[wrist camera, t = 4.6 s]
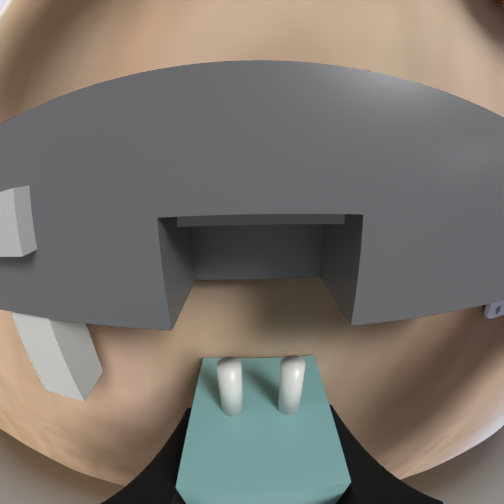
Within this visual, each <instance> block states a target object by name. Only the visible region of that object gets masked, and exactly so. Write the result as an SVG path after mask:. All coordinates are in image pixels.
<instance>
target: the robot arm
mask: <svg viewBox="0 0 504 504" xmlns="http://www.w3.org/2000/svg"><path fill="white" fill-rule="evenodd" d="M484 315H485V317H487V318H488V319H492V318H496V317H499V316H502V315H504V300H503V301H499V302H495V303H490V304H486V307H485V310H484ZM329 406H330V409H331V412H332V416H333V419H334V422H335V426H336V429H337V433H338V436H339V440H340V443H341V447H342V450H343V454H344V457H345V461H346V465H347V468H348V472H349V476H350V479H351V483H350V484H349V486H348V487H347V489H346V490H345V492H344V493H343V495H342V496H341V497H340V499H339V500H338V501H337V503H336V504H443V502H442V501H439V500H437V499H434V498H432V497H429V496H427V495H425V494H423V493H421V492H419V491H417V490H416V489H414V488H412V487H410V486H409V485H407V484H406V483H404V482H402V481H401V480H399V479H398V478H396V477H395V476H394V475H392V474H391V473H390V472H389V471H387V470H386V469H385V468H384V467H383V466H381V465H380V464H379V463H378V462H377V461H376V460H375V459H374V458H373V457H372V456H371V455H370V454H369V453H368V452H367V451H366V450H365V449H364V448H363V447H362V446H361V445H360V443H359V442H358V441H357V440H356V439H355V437H354V436H353V435H352V434H351V432H350V431H349V430H348V429H347V427H346V426H345V424H344V423H343V422H342V420H341V419H340V417H339V416H338V414H337V413H336V411H335V410H334V408H333V407H332V406H331V405H329ZM191 410H192V408H188V409H186V411H185V413H184V415H183V417H182V419H181V421H180V422H179V424H178V426H177V427H176V429H175V431H174V432H173V434H172V435H171V437H170V438H169V439H168V441H167V442H166V444H165V445H164V447H163V448H162V449H161V450H160V452H159V453H158V454H157V455H156V457H155V458H154V459H153V460H152V461H151V463H150V464H149V465H148V466H147V467H146V468H145V469H144V470H143V471H142V472H141V473H140V474H139V475H138V476H137V477H136V478H135V479H134V480H133V481H131V482H130V483H129V484H128V485H127V486H126V487H124V488H123V489H122V490H121V491H119V492H118V493H116V494H115V495H114V496H112V497H110V498H109V499H107V500H106V501H104V502H103V503H101V504H186V503H185V501H184V500H183V498H182V497H181V495H180V494H179V492H178V491H177V489H176V483H177V478H178V472H179V467H180V462H181V457H182V453H183V448H184V443H185V438H186V433H187V429H188V424H189V419H190V415H191Z"/></svg>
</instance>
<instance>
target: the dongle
mask: <svg viewBox="0 0 504 504" xmlns="http://www.w3.org/2000/svg"><path fill="white" fill-rule="evenodd" d="M11 313H12V316H13V319H14V321H15V324H16V327H17V329H18V332H19V335H20V337H21V339H22V342H23V344H24V347H25V349H26V351H27V353H28V356H29V358H30V360H31V362H32V364H33V366H34V368H35V370H36V372H37V374H38V376H39V378H40V380H41V382H42V384H43V386H44V388H45V389H46V390H48V391H51V392H54V393H57V394H60V395H63V396H67V397H70V398H73V399H77V400H80V401H84V402H85V400H86V398H87V397H88V395H89V394H90V392H91V390H92V389H93V387H94V385H95V384H96V382H97V381H98V379H99V377H100V376H101V374H102V373H103V369H102V367H101V364H100V362H99V359H98V356H97V353H96V351H95V348H94V345H93V342H92V339H91V336H90V333H89V330H88V327H87V323H79V322H71V321H64V320H57V319H51V318H44V317H38V316H32V315H27V314H22V313H16V312H11Z"/></svg>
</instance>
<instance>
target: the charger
mask: <svg viewBox="0 0 504 504" xmlns="http://www.w3.org/2000/svg"><path fill="white" fill-rule="evenodd" d="M350 483H351V479H350V476H349V472H348V468H347V465H346V461H345V457H344V454H343V450H342V447H341V443H340V440H339V436H338V433H337V429H336V426H335V422H334V419H333V416H332V412H331V409H330V406H329V402H328V399H327V396H326V392H325V389H324V386H323V383H322V379H321V376H320V373H319V370H318V367H317V363H316V360H315V357H314V355H309V356H287V357H274V358H233V357H226V358H203V361H202V365H201V370H200V374H199V378H198V383H197V387H196V392H195V396H194V401H193V405H192V410H191V415H190V419H189V424H188V429H187V433H186V438H185V443H184V448H183V453H182V457H181V462H180V467H179V472H178V478H177V483H176V489H177V491H178V492H179V494H180V495H181V497H182V498H183V500H184V501H185V503H186V504H336V503H337V501H338V500H339V499H340V497H341V496H342V495H343V493H344V492H345V490H346V489H347V487H348V486H349V484H350Z"/></svg>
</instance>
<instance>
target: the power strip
mask: <svg viewBox="0 0 504 504" xmlns="http://www.w3.org/2000/svg"><path fill="white" fill-rule="evenodd" d="M311 277H321V278H322V280H323V281H324V283H325V284H326V286H327V288H328V289H329V291H330V292H331V294H332V296H333V297H334V299H335V300H336V302H337V304H338V305H339V307H340V309H341V310H342V312H343V314H344V315H345V317H346V319H347V320H348V322H349V324H350V325H351V326H355V325H364V324H373V323H382V322H390V321H397V320H405V319H412V318H418V317H424V316H430V315H436V314H442V313H448V312H453V311H458V310H463V309H468V308H473V307H477V306H482V305H486V304H490V303H495V302H499V301H503V300H504V118H503V117H501V116H500V115H498V114H496V113H494V112H492V111H489V110H487V109H485V108H483V107H481V106H479V105H476V104H474V103H472V102H470V101H467V100H465V99H462V98H460V97H457V96H455V95H452V94H449V93H447V92H444V91H441V90H438V89H435V88H432V87H429V86H426V85H423V84H419V83H416V82H413V81H409V80H405V79H402V78H398V77H394V76H390V75H385V74H381V73H376V72H371V71H366V70H361V69H355V68H349V67H343V66H335V65H327V64H318V63H308V62H294V61H264V60H255V61H225V62H211V63H200V64H191V65H183V66H176V67H169V68H163V69H158V70H152V71H147V72H142V73H137V74H133V75H129V76H124V77H120V78H116V79H113V80H109V81H105V82H102V83H99V84H95V85H92V86H89V87H86V88H83V89H80V90H77V91H74V92H71V93H68V94H66V95H63V96H60V97H58V98H55V99H53V100H50V101H48V102H45V103H43V104H41V105H38V106H36V107H34V108H32V109H30V110H28V111H25V112H23V113H21V114H19V115H17V116H15V117H13V118H11V119H10V120H8V121H6V122H4V123H2V124H0V309H2V310H6V311H11V312H16V313H22V314H27V315H32V316H38V317H44V318H51V319H57V320H64V321H71V322H79V323H87V324H96V325H105V326H116V327H127V328H140V329H156V330H172V329H173V327H174V325H175V322H176V320H177V318H178V316H179V314H180V312H181V309H182V307H183V305H184V303H185V301H186V299H187V297H188V295H189V292H190V290H191V288H192V286H193V284H194V282H195V280H223V279H278V278H311Z"/></svg>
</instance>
